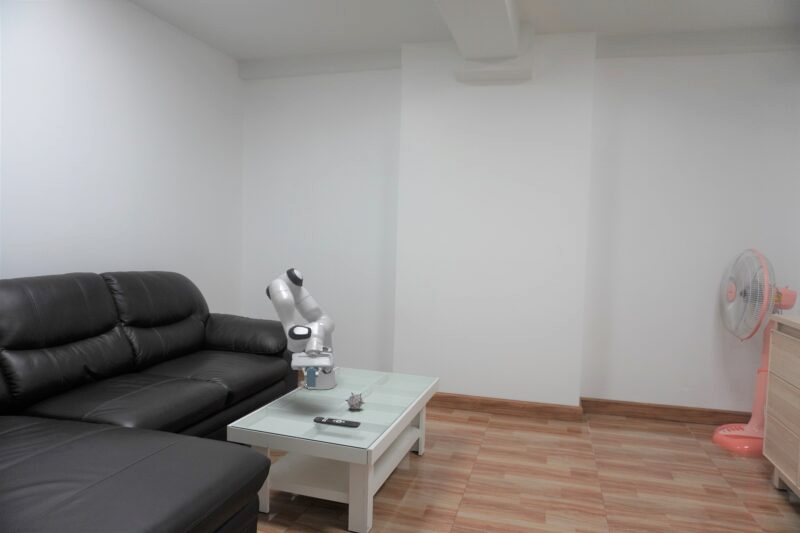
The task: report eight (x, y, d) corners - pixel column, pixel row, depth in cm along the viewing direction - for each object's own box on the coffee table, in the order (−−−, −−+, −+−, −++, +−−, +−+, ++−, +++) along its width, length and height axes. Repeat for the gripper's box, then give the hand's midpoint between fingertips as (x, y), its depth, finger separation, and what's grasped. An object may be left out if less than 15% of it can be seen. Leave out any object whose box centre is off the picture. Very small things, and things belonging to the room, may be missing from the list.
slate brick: (307, 384, 262) (307, 366, 261) (316, 384, 262) (316, 366, 261) (306, 386, 258) (306, 368, 257) (315, 387, 258) (315, 368, 257)
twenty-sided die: (358, 416, 270) (370, 400, 271) (351, 415, 263) (364, 398, 264) (345, 405, 274) (358, 388, 275) (339, 403, 267) (351, 386, 267)
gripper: (291, 348, 266) (288, 373, 256) (334, 348, 266) (332, 373, 257) (293, 355, 270) (290, 380, 261) (334, 355, 271) (333, 380, 261)
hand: (311, 376), depth 259 cm, fingers closed on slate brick, 4 cm apart
